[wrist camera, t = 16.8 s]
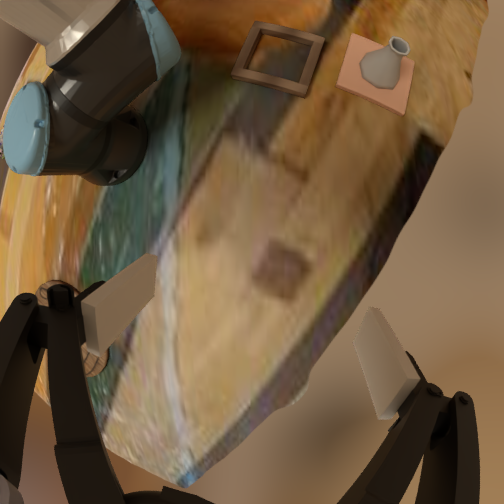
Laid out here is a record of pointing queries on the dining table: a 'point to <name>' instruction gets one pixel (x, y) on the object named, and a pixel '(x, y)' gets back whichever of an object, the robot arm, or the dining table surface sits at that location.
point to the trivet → (91, 361)
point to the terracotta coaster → (358, 86)
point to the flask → (384, 64)
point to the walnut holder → (273, 81)
